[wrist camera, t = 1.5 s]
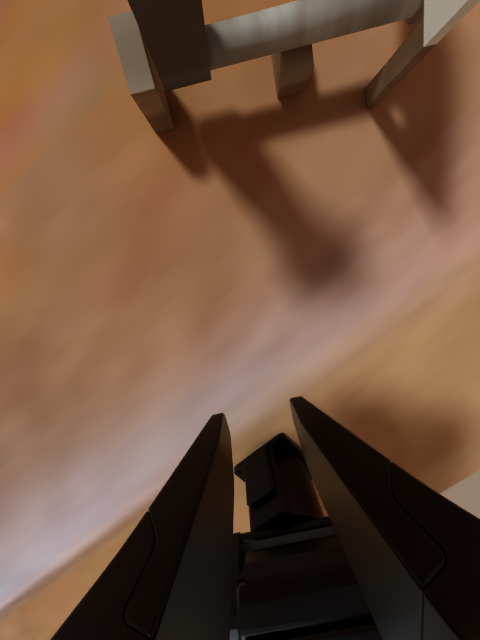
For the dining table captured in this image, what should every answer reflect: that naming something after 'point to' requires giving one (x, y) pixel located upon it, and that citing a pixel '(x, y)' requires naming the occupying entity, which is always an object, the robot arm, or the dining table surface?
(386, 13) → the block-topped post frame
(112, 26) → the peg stand
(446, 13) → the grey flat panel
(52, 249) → the dining table surface
